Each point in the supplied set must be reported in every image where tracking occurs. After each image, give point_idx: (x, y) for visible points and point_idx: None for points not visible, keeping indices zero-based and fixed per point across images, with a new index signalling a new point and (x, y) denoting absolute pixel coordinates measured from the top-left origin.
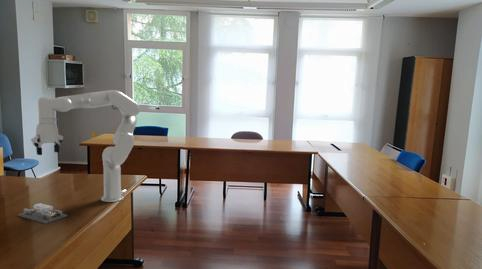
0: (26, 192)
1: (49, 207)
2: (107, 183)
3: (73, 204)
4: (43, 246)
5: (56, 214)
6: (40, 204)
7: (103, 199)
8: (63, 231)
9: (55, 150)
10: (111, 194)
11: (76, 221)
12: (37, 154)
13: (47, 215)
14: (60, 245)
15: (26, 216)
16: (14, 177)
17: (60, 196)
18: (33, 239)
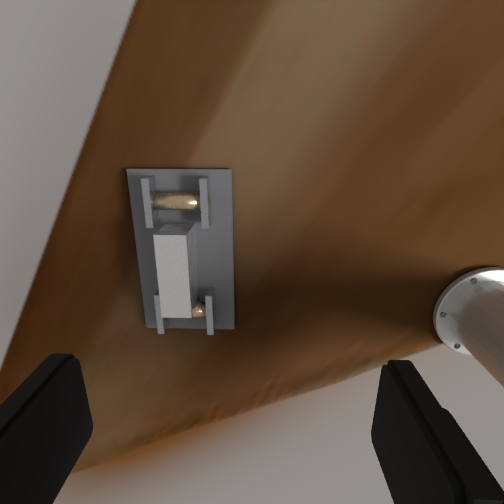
0: None
1: (176, 317)
2: (499, 372)
3: (350, 229)
4: None
5: (200, 317)
6: (175, 254)
7: (442, 307)
8: (149, 408)
9: (388, 412)
10: (467, 349)
11: (220, 381)
12: (57, 360)
13: (157, 326)
14: (96, 461)
15: (136, 219)
16: None
17: (429, 48)
18: None
